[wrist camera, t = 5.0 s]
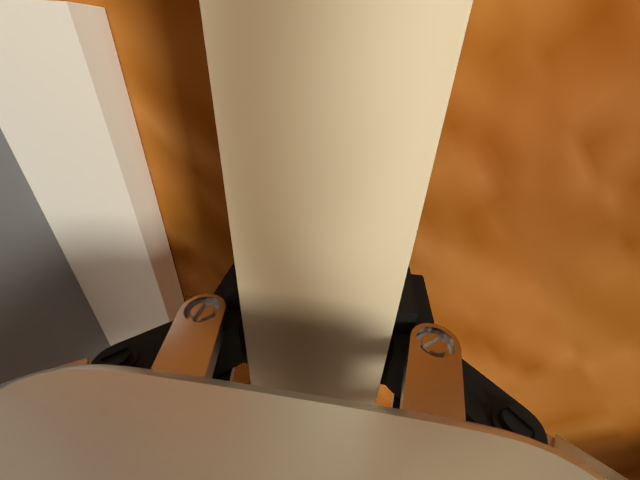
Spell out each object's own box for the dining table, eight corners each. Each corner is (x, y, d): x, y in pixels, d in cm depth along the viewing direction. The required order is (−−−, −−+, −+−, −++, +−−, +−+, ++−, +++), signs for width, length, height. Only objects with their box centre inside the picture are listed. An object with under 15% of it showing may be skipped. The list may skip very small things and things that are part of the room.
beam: (450, -136, 7) (582, -450, 3) (353, 407, 18) (348, 512, 14) (277, -134, 7) (144, -404, 3) (289, 396, 19) (265, 495, 15)
